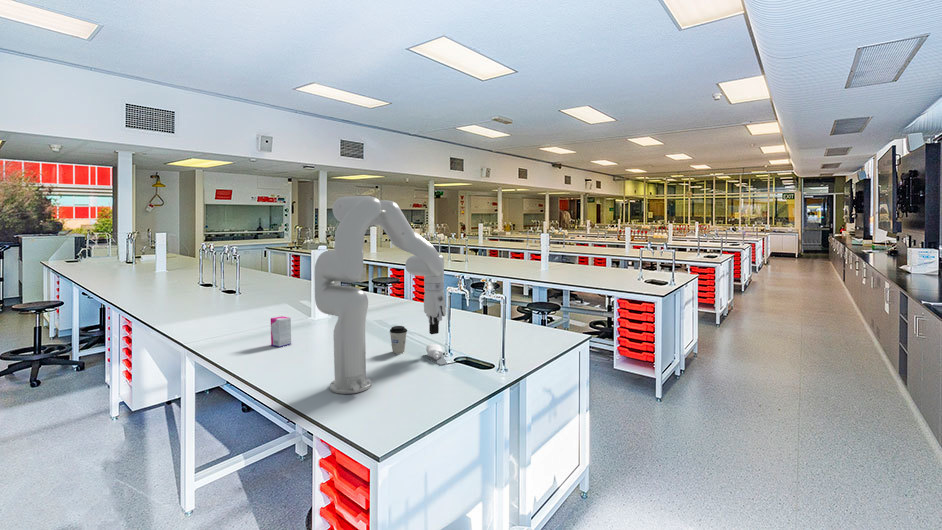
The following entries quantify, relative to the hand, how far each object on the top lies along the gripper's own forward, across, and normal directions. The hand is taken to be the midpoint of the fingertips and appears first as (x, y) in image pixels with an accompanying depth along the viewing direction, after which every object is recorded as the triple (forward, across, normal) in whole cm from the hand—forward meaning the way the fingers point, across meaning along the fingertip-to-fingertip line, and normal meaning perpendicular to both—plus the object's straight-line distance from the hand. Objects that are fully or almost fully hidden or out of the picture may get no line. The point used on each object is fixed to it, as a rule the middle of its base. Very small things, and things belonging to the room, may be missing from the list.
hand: (434, 333), depth 178 cm
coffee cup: (+8, +9, +11) cm, 16 cm away
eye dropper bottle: (+6, 0, 0) cm, 6 cm away
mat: (+8, -8, 0) cm, 11 cm away
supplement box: (+8, +43, +48) cm, 65 cm away
